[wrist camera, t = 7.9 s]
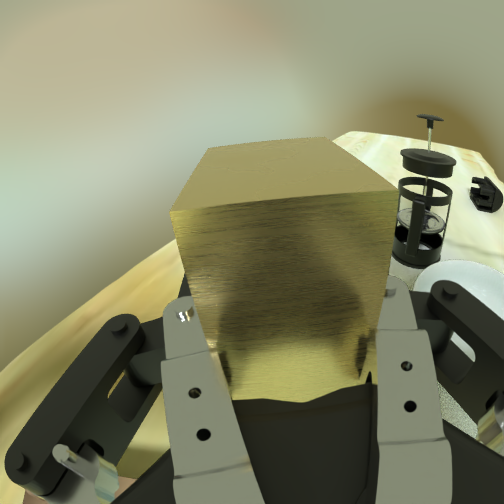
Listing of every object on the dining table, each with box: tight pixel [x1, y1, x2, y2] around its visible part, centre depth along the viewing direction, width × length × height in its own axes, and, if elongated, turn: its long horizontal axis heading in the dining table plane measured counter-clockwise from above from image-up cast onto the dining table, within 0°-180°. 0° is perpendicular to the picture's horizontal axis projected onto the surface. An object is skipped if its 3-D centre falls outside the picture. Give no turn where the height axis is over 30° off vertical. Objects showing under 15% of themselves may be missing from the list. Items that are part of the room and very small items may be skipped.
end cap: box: [470, 177, 503, 213], centre depth 56 cm, size 10×7×7 cm
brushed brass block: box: [169, 137, 399, 402], centre depth 10 cm, size 4×6×11 cm, turn 1°
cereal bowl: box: [412, 259, 504, 362], centre depth 25 cm, size 17×17×7 cm
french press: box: [391, 114, 456, 269], centre depth 38 cm, size 12×9×23 cm
